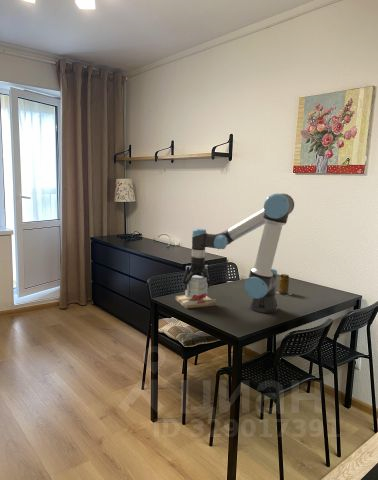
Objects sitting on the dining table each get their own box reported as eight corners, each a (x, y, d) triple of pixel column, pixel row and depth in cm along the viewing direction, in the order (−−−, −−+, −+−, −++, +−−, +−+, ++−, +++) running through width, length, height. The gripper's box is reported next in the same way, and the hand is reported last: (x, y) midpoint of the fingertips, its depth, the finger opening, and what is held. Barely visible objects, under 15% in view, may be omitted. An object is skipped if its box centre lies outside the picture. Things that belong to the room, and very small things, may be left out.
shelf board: (215, 305, 208) (215, 299, 207) (186, 308, 201) (186, 302, 200) (203, 296, 223) (203, 291, 222) (175, 299, 216) (175, 293, 215)
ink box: (206, 297, 211) (207, 276, 209) (197, 300, 204) (198, 279, 203) (194, 293, 216) (195, 274, 215) (185, 297, 210) (186, 276, 208)
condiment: (282, 291, 243) (283, 273, 241) (293, 294, 236) (294, 276, 235) (275, 292, 238) (276, 274, 236) (286, 296, 232) (287, 277, 230)
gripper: (213, 254, 215) (211, 291, 218) (176, 256, 206) (174, 294, 209) (219, 257, 208) (217, 294, 211) (181, 258, 199) (179, 298, 202)
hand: (196, 294), depth 210 cm, fingers closed on ink box, 11 cm apart
